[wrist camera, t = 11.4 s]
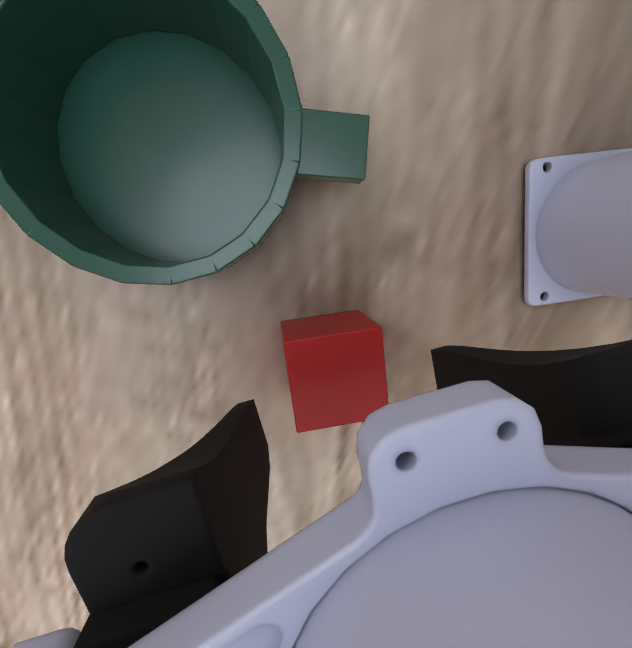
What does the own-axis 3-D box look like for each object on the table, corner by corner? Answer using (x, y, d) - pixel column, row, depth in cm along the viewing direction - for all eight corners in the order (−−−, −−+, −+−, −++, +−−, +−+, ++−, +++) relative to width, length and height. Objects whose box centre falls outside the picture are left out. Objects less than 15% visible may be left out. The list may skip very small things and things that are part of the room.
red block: (358, 309, 20) (382, 326, 16) (365, 382, 21) (389, 417, 17) (280, 321, 19) (283, 341, 15) (291, 394, 20) (296, 433, 16)
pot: (-37, -7, 15) (-181, -126, 10) (354, 44, 17) (386, -35, 12) (-1, 267, 17) (-105, 275, 12) (339, 281, 19) (360, 291, 15)
